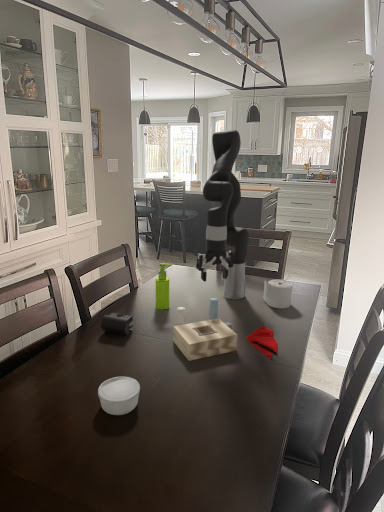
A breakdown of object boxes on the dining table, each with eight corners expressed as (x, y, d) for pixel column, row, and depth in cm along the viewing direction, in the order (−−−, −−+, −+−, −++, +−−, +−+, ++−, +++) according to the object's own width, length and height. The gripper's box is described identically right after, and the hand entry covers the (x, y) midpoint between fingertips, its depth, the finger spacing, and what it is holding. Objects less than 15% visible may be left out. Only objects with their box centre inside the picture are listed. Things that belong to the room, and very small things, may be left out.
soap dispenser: (171, 310, 163) (171, 265, 158) (155, 309, 163) (154, 265, 158) (172, 304, 169) (172, 261, 164) (156, 304, 169) (156, 261, 164)
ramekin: (122, 387, 111) (121, 371, 109) (149, 403, 104) (148, 386, 103) (90, 406, 103) (89, 389, 101) (117, 425, 96) (116, 407, 94)
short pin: (229, 333, 144) (229, 321, 142) (233, 337, 141) (234, 325, 139) (221, 335, 142) (222, 323, 141) (225, 339, 140) (226, 326, 138)
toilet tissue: (291, 309, 166) (293, 288, 164) (263, 307, 168) (265, 286, 165) (289, 300, 177) (291, 280, 174) (263, 298, 178) (264, 278, 176)
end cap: (101, 334, 141) (100, 318, 139) (110, 326, 148) (110, 310, 146) (125, 339, 138) (124, 322, 136) (134, 330, 145) (133, 314, 143)
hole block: (217, 332, 144) (218, 317, 143) (236, 350, 132) (237, 334, 130) (173, 341, 137) (173, 325, 135) (188, 360, 125) (189, 343, 123)
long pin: (214, 325, 150) (215, 297, 146) (218, 329, 147) (219, 300, 144) (207, 327, 149) (208, 298, 145) (211, 330, 146) (212, 301, 142)
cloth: (250, 324, 153) (251, 319, 153) (285, 329, 149) (286, 324, 149) (239, 356, 129) (239, 350, 129) (280, 363, 125) (281, 357, 125)
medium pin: (183, 324, 151) (183, 306, 149) (186, 327, 148) (186, 309, 146) (175, 325, 149) (175, 307, 147) (178, 328, 147) (178, 311, 145)
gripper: (228, 233, 144) (226, 274, 148) (194, 236, 138) (192, 278, 143) (238, 238, 137) (236, 280, 142) (202, 241, 132) (201, 285, 136)
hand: (214, 279), depth 142 cm, fingers open, 8 cm apart
